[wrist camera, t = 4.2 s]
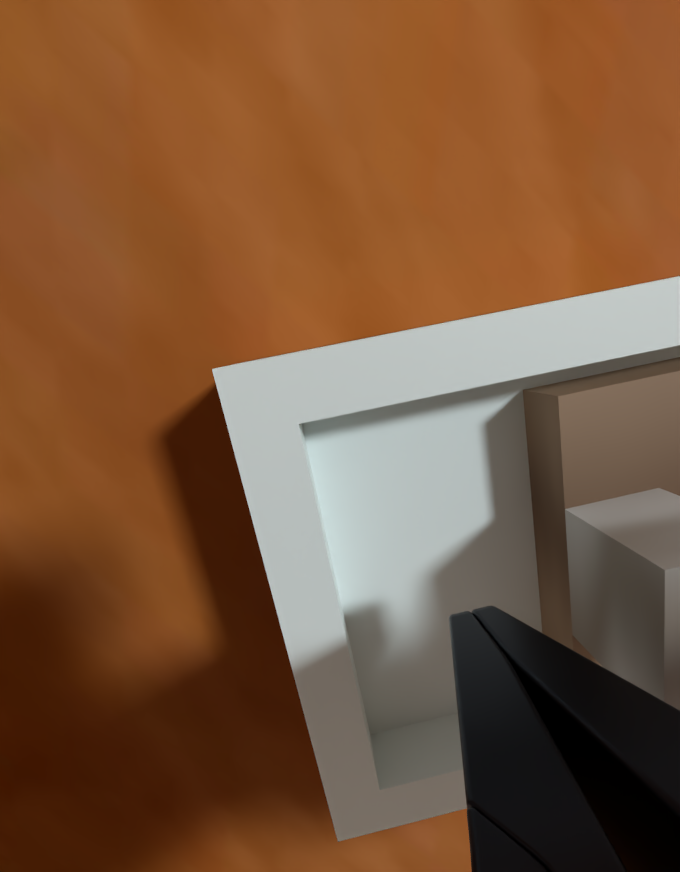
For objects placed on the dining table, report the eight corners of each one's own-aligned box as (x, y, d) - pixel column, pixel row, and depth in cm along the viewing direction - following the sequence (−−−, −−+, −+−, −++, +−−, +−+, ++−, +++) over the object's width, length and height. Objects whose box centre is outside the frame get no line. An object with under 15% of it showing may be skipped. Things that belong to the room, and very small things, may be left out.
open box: (845, 600, 13) (996, 670, 10) (329, 727, 12) (338, 841, 9) (894, 233, 10) (1117, 189, 7) (239, 363, 9) (212, 369, 6)
